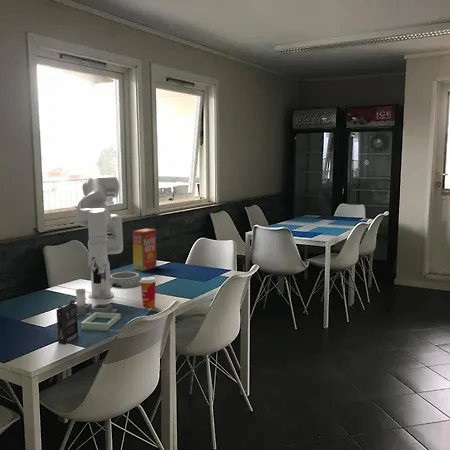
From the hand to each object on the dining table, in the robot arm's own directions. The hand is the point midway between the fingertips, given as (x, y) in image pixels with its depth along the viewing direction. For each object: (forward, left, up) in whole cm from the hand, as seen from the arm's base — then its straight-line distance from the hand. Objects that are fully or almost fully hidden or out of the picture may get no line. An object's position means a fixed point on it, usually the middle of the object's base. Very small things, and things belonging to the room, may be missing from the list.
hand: (99, 281), depth 216 cm
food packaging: (-107, -17, -19) cm, 110 cm away
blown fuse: (0, 0, -3) cm, 3 cm away
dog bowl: (-68, -16, -20) cm, 73 cm away
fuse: (-14, -16, -18) cm, 28 cm away
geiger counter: (+19, -6, -19) cm, 28 cm away
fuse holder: (-14, -11, -19) cm, 26 cm away
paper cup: (-28, +12, -19) cm, 36 cm away
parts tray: (0, 0, -19) cm, 19 cm away
